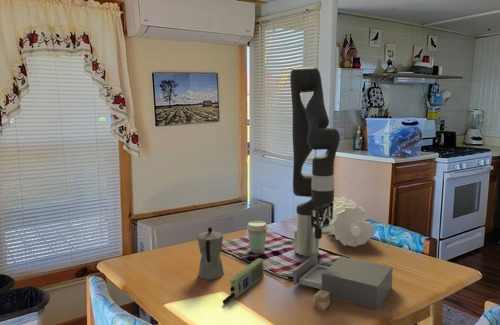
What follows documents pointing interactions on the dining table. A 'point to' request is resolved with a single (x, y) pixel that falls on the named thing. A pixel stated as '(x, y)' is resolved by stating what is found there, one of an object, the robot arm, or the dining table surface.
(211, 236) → the coffeepot
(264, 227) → the coffee cup
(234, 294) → the handheld radio
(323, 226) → the disc
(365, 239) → the spiral staircase
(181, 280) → the dining table surface
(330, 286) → the block
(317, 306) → the pedestal
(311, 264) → the tray
